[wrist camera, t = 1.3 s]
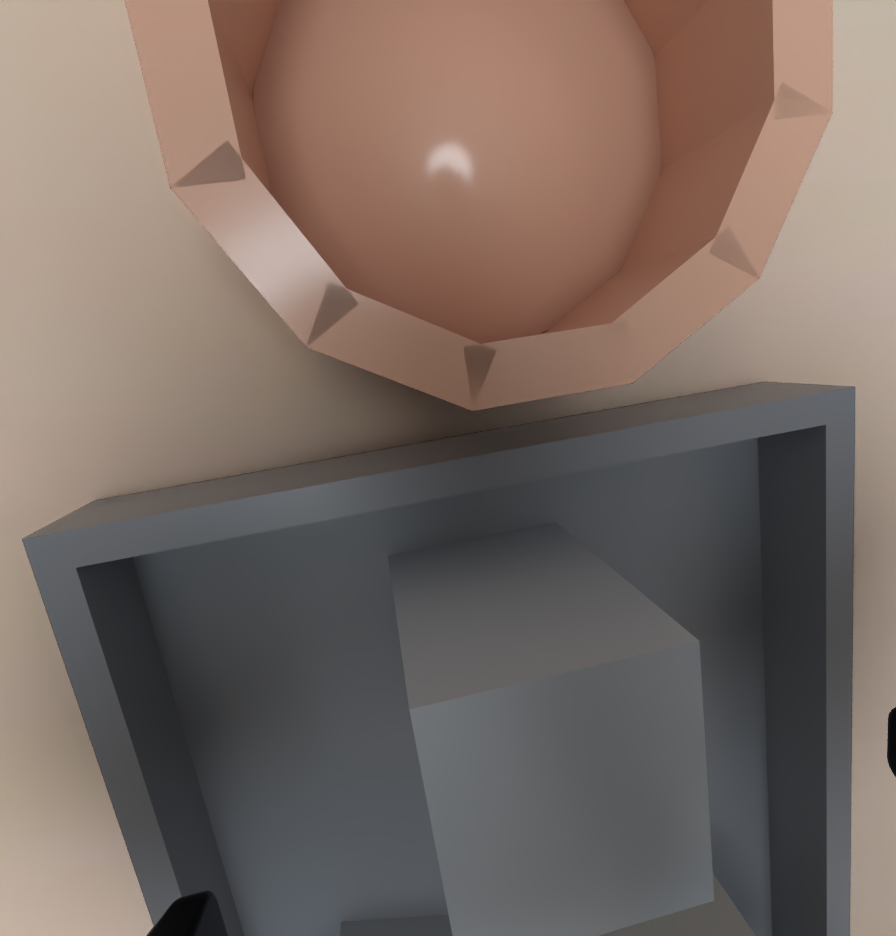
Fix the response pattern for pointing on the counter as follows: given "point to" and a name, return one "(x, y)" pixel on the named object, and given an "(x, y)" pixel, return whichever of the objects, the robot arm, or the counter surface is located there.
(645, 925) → the stone
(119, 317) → the counter surface
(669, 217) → the bowl
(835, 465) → the tray
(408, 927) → the stone
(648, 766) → the stone
